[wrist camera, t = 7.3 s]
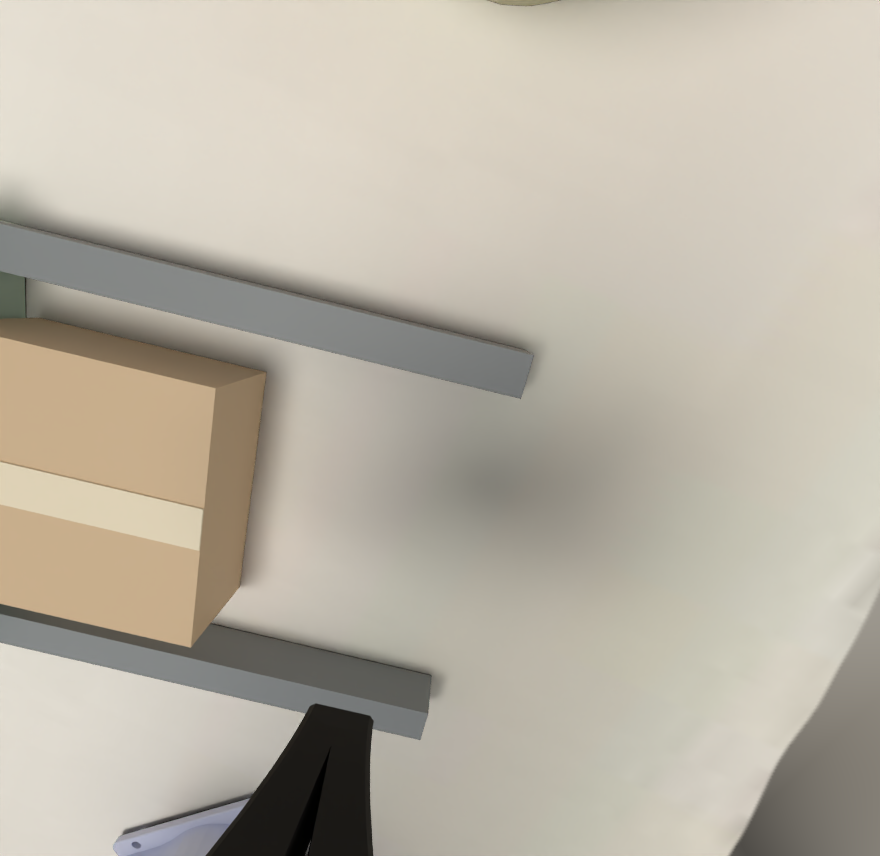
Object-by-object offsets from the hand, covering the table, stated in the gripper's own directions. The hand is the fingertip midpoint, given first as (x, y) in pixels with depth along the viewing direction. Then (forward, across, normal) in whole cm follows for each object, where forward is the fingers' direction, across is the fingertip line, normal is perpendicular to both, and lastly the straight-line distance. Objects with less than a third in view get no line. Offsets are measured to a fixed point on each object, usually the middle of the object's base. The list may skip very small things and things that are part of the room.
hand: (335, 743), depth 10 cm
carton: (+10, +11, 0) cm, 15 cm away
